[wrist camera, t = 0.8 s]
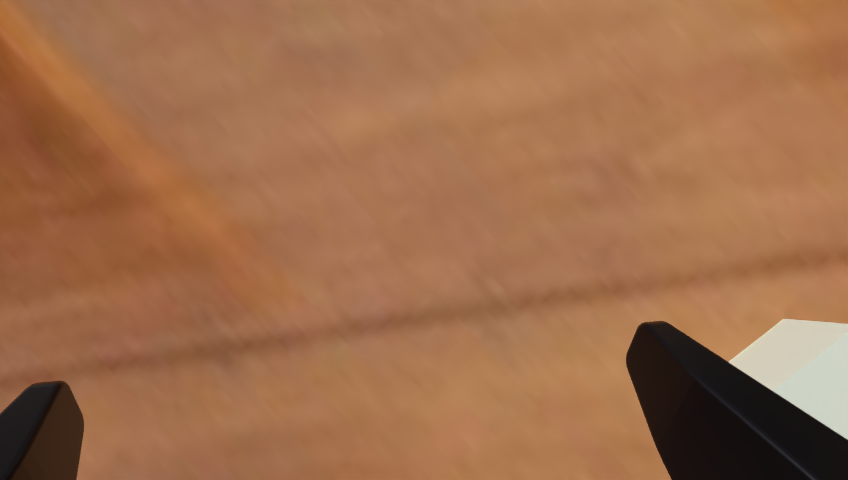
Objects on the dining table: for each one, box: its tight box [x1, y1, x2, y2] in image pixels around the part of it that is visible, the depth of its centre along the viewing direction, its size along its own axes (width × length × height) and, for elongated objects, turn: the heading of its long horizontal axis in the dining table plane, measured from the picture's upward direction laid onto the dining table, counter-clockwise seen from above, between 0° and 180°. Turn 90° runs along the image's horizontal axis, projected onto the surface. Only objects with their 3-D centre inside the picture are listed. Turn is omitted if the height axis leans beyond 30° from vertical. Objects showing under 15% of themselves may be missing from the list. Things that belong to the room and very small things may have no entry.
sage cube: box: [729, 319, 848, 440], centre depth 18 cm, size 5×5×5 cm
